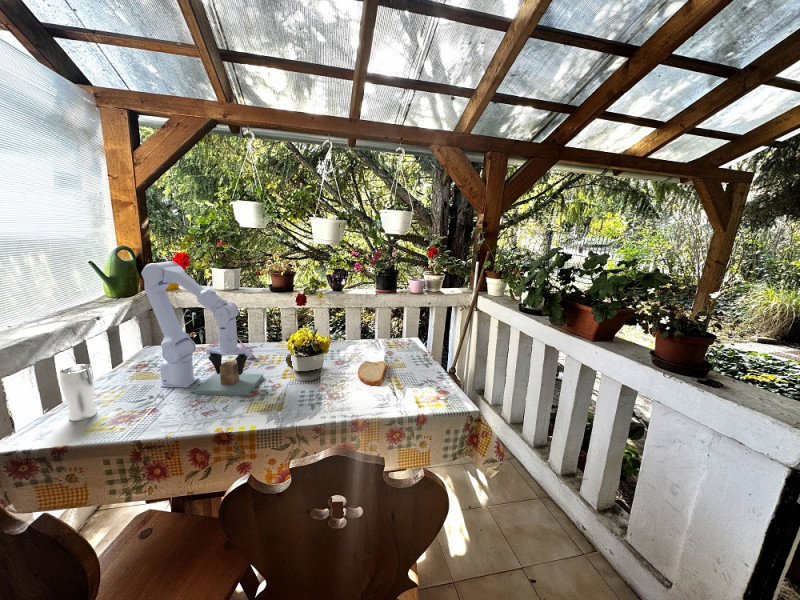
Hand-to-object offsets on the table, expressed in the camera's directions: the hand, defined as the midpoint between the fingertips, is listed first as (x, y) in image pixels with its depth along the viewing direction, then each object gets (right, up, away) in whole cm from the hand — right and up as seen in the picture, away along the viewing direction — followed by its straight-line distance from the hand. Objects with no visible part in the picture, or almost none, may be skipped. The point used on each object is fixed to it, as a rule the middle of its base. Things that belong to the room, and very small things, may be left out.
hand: (230, 373), depth 121 cm
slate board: (0, -5, +1) cm, 5 cm away
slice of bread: (+51, -4, +16) cm, 54 cm away
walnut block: (0, -3, 0) cm, 3 cm away
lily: (-6, +1, +26) cm, 27 cm away
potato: (+22, -3, +16) cm, 27 cm away
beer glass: (-33, -8, -21) cm, 40 cm away
